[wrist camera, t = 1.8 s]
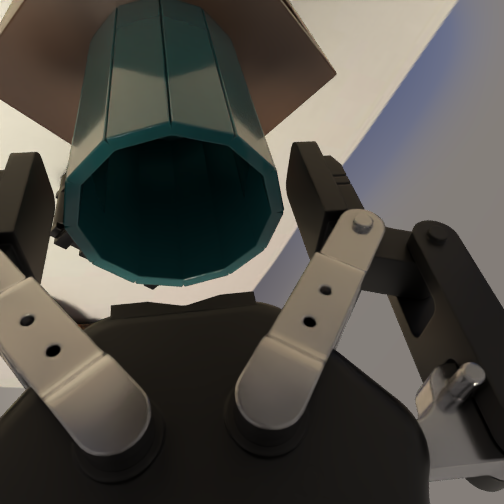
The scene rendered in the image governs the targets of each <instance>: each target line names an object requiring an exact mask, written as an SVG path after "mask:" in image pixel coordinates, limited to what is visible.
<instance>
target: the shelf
mask: <svg viewBox="0 0 504 504" xmlns="http://www.w3.org/2000/svg"><path fill="white" fill-rule="evenodd" d="M134 1H138V0H13V1H12V3H11V4H10V6H9V8H8V10H7V12H6V13H5V15H4V17H3V19H2V21H1V22H0V100H2V101H4V102H5V103H7V104H8V105H10V106H11V107H13V108H15V109H16V110H18V111H19V112H21V113H22V114H24V115H26V116H27V117H29V118H30V119H32V120H34V121H35V122H37V123H38V124H40V125H41V126H43V127H45V128H46V129H48V130H49V131H51V132H52V133H54V134H56V135H57V136H59V137H60V138H62V139H63V140H65V141H67V142H68V143H70V144H71V145H72V139H73V134H74V128H75V123H76V117H77V112H78V106H79V101H80V95H81V90H82V84H83V79H84V73H85V68H86V62H87V57H88V51H89V46H90V41H91V38H92V36H93V35H94V34H95V33H96V31H97V30H98V29H99V28H100V27H101V25H102V24H103V23H104V22H105V20H106V19H107V18H108V17H109V15H110V14H111V13H112V12H113V10H114V9H115V8H118V6H120V5H124V4H127V3H131V2H134ZM179 1H182V2H186V3H189V4H192V5H196V6H199V7H201V9H204V10H205V11H206V12H207V13H208V14H209V15H210V16H211V18H212V19H213V20H214V21H215V22H216V23H217V24H218V25H219V26H220V27H221V28H222V29H223V31H224V32H225V33H226V34H227V35H228V36H229V37H230V39H231V41H232V43H233V46H234V49H235V52H236V55H237V58H238V61H239V64H240V66H241V69H242V72H243V75H244V78H245V81H246V84H247V87H248V90H249V92H250V95H251V98H252V101H253V104H254V107H255V110H256V113H257V116H258V118H259V121H260V124H261V127H262V130H263V133H264V136H265V135H267V134H268V133H269V132H270V131H271V130H272V129H274V128H275V127H276V126H277V125H278V124H279V123H281V122H282V121H283V120H284V119H285V118H286V117H288V116H289V115H290V114H291V113H292V112H293V111H295V110H296V109H297V108H298V107H299V106H300V105H302V104H303V103H304V102H305V101H306V100H307V99H309V98H310V97H311V96H312V95H313V94H314V93H316V92H317V91H318V90H319V89H320V88H321V87H323V86H324V85H325V84H326V83H327V82H328V81H330V80H331V79H332V78H333V77H334V76H335V75H336V71H335V70H334V68H333V67H332V65H331V64H330V62H329V61H328V59H327V58H326V56H325V54H324V53H323V51H322V50H321V48H320V47H319V45H318V44H317V42H316V41H315V39H314V38H313V36H312V35H311V33H310V32H309V30H308V29H307V27H306V26H305V24H304V23H303V21H302V20H301V18H300V17H299V15H298V14H297V12H296V10H295V9H294V7H293V6H292V4H291V3H290V1H289V0H179Z"/></svg>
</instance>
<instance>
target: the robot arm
mask: <svg viewBox="0 0 504 504" xmlns="http://www.w3.org/2000/svg"><path fill="white" fill-rule="evenodd" d="M286 191H287V197H288V200H289V202H290V205H291V208H292V211H293V214H294V216H295V219H296V222H297V225H298V228H299V230H300V233H301V236H302V239H303V242H304V244H305V247H306V250H307V253H308V255H309V258H310V262H309V264H308V266H307V267H306V269H305V271H304V272H303V274H302V276H301V278H300V279H299V281H298V283H297V285H296V286H295V288H294V289H293V291H292V293H291V295H290V296H289V298H288V300H287V302H286V303H285V305H284V307H283V308H282V309H280V308H278V307H276V306H273V305H270V304H266V303H262V302H256V301H255V296H254V292H243V293H233V294H223V295H218V296H215V297H211V298H208V299H205V300H202V301H199V302H196V303H193V304H190V305H186V306H180V305H171V304H162V303H153V302H141V303H131V304H121V305H111V316H110V317H107V318H104V319H102V320H100V321H98V322H96V323H94V324H92V325H90V326H88V327H87V328H86V329H84V330H82V329H81V328H80V327H79V326H78V324H77V323H76V322H75V321H74V320H73V319H72V318H71V317H70V316H69V315H68V314H67V313H66V312H65V311H64V310H63V308H62V307H61V306H60V305H59V304H58V303H57V302H56V301H55V300H54V299H53V298H52V297H51V296H50V295H49V294H48V292H47V291H46V290H45V289H44V288H43V287H42V286H41V285H40V284H41V279H42V274H43V269H44V264H45V259H46V254H47V248H48V243H49V238H50V233H51V228H52V223H53V218H54V213H55V199H54V194H53V190H52V187H51V185H50V182H49V179H48V176H47V173H46V170H45V167H44V164H43V161H42V158H41V156H40V154H39V153H38V152H28V153H11V154H10V156H9V159H8V162H7V164H6V167H5V170H0V356H1V357H2V358H3V360H4V361H5V362H6V364H7V365H8V366H9V368H10V369H11V370H12V372H13V373H14V374H15V376H16V377H17V378H18V380H19V381H20V383H21V384H22V385H23V387H24V388H25V389H26V390H25V391H24V392H23V394H22V395H21V396H20V397H19V398H18V399H17V400H16V401H15V402H14V403H13V405H11V407H10V408H9V409H8V410H7V411H6V412H5V413H4V414H3V415H2V416H1V417H0V504H430V501H429V482H431V481H440V480H449V479H459V478H466V480H468V481H469V482H470V483H471V484H472V485H474V486H475V487H477V488H479V489H481V490H485V491H489V492H495V491H499V490H501V489H503V488H504V309H503V307H502V305H501V304H500V302H499V301H498V299H497V297H496V296H495V294H494V293H493V291H492V289H491V288H490V286H489V285H488V283H487V281H486V280H485V278H484V276H483V275H482V273H481V272H480V270H479V268H478V267H477V265H476V263H475V262H474V260H473V259H472V257H471V255H470V254H469V252H468V251H467V249H466V247H465V246H464V244H463V242H462V241H461V239H460V238H459V236H458V235H457V233H456V232H455V231H454V230H453V229H452V228H450V227H449V226H447V225H445V224H443V223H440V222H437V221H428V220H427V221H421V222H419V223H417V224H416V225H415V226H414V228H413V230H412V232H410V231H404V230H397V229H393V228H388V227H385V224H384V222H383V220H382V219H381V218H380V217H379V216H378V215H376V214H374V213H373V212H370V211H368V210H365V209H364V207H363V206H362V204H361V202H360V200H359V198H358V196H357V194H356V192H355V190H354V188H353V186H352V185H351V184H350V181H349V179H348V177H347V176H346V173H345V171H344V169H343V167H342V165H341V164H340V163H339V162H338V161H336V160H335V159H334V158H333V157H332V156H323V155H322V153H321V151H320V149H319V147H318V145H317V143H316V142H315V141H312V142H294V143H293V144H292V147H291V153H290V159H289V166H288V172H287V179H286ZM361 290H364V291H370V292H375V293H381V294H387V296H388V298H389V300H390V303H391V305H392V308H393V310H394V313H395V315H396V318H397V320H398V323H399V325H400V327H401V330H402V332H403V335H404V337H405V340H406V342H407V345H408V347H409V350H410V352H411V354H412V357H413V359H414V362H415V364H416V366H417V369H418V372H419V374H420V377H421V379H422V381H423V384H422V386H421V387H420V388H419V390H418V391H417V394H416V399H415V400H416V407H417V412H418V419H415V417H414V416H413V414H412V413H411V412H410V411H409V410H408V408H407V407H406V406H405V405H404V404H402V403H401V402H400V401H399V400H398V399H397V398H395V397H394V396H392V394H390V393H389V392H388V391H386V390H385V389H384V388H383V387H381V386H380V385H379V384H378V383H376V382H375V381H374V380H373V379H371V378H370V377H369V376H368V375H366V374H365V373H364V372H362V371H361V370H360V369H359V368H358V367H356V366H355V365H354V364H352V363H351V362H350V361H349V360H347V359H346V358H345V357H344V356H342V355H341V354H340V353H339V352H337V351H336V348H337V346H338V344H339V341H340V339H341V336H342V334H343V332H344V329H345V327H346V325H347V322H348V320H349V318H350V316H351V313H352V311H353V308H354V306H355V304H356V302H357V300H358V297H359V295H360V293H361Z"/></svg>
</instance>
